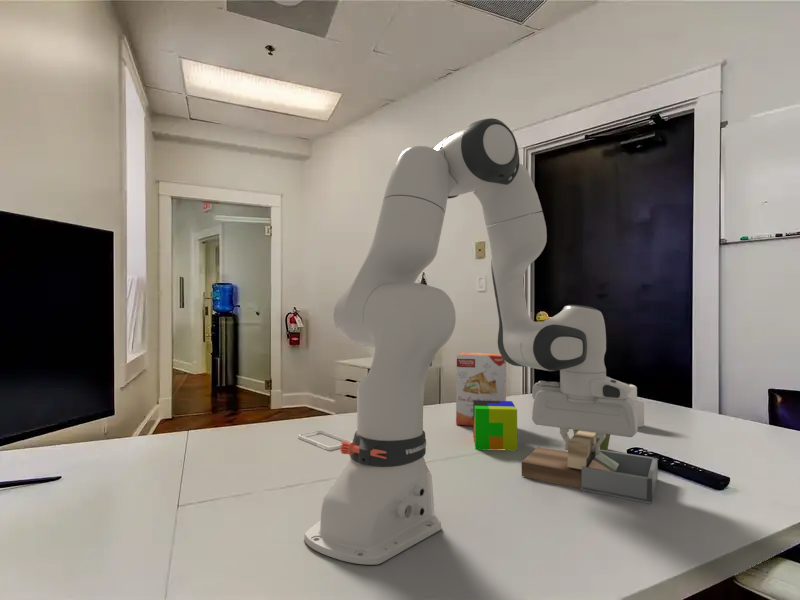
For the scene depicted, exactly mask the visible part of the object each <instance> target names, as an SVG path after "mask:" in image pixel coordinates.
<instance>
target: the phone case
mask: <svg viewBox="0 0 800 600" xmlns="http://www.w3.org/2000/svg"><path fill="white" fill-rule="evenodd" d="M313 433H316V435H324V436H327V437H329V438H333V439H335V440H337V441H341V442H343V441H348V442H350V443H351V442H353V440H350V439H347V438H344V437H341V436H339V435H335V434H334V433H330V432H328V431H325V430H315V431H314V430H313V431H310V432H305V433H300V434H298V436H297V438H298V439H299V440H301V441H304V442H306V443H309V444H311V445H314V446H317V445H318V446H320V447H323V448H324V450H326V451H330V452H331V451H336V450H338V449H339V450H340V448H341V447H340V445H342V444H341V443H340V444H337V445H331V446H329V445H326V444H325V443H324V444H323V443H321V442H318V441H316V440H314V439H311V438H308V437H305V435H309V434H313Z"/></svg>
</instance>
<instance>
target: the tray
mask: <svg viewBox="0 0 800 600" xmlns="http://www.w3.org/2000/svg"><path fill="white" fill-rule="evenodd" d="M600 452H601V453H602V454H604V455H606V456H607V457H609V458H610V459H612V460H614V461H615V462H617V463H619V465H618V467H617V470H616V471H615V472H612V471H606V470H601V469H595V468H589V467H583V466H582V488H581V491H584V492H589V493H595V494H599V495H606V496H609V497H610V496H611V497H615V498H620V499H625V500H629V501H636V502H641V503H645V504H651V505H652V504H653V501H654V497H655V492H656V488H657V484H658V473H659V472H658V470H659V469H658V468H659V467H658V463H659V462H658V460H659V459H658V458H657V457H652V456H645V455H639V454H632V453H626V452H625V453H624V452H621V451H619V452H618V451H612V450H608V449H607V450H600Z"/></svg>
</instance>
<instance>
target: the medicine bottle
mask: <svg viewBox="0 0 800 600" xmlns="http://www.w3.org/2000/svg"><path fill="white" fill-rule="evenodd" d="M627 384H628V385H629V386H630V395H629V396H628V397H630V398H631V399H632V400H633V402H634V404H635V408H636V414H637V424H638V428H643V427H645V403H644V401H639V400H637V399H638V387H637V386H636V385H634V384H632V383H627Z"/></svg>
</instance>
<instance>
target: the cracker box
mask: <svg viewBox="0 0 800 600" xmlns="http://www.w3.org/2000/svg"><path fill="white" fill-rule="evenodd" d="M455 384H456V386H455V387H456V389H455V390H456V397H455V398H456V399H455V401H456V403H455V408H456V409H455V425H457V426H458V425H459V426H471V427H473V400H479V401H507V362H506V361H505V360H504V358H503V357H502V356H501V354H500V353H486V352H465V351H464V352H459V353H457V354H456V383H455Z"/></svg>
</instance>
